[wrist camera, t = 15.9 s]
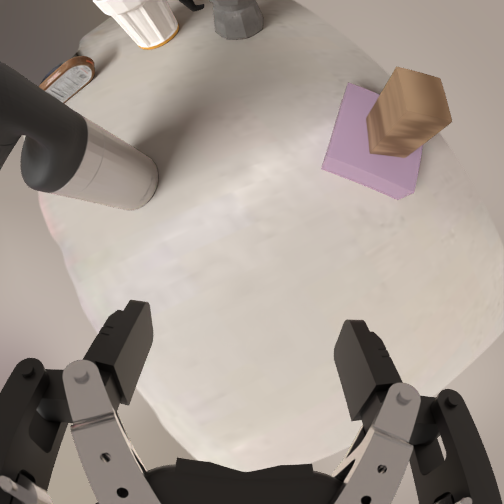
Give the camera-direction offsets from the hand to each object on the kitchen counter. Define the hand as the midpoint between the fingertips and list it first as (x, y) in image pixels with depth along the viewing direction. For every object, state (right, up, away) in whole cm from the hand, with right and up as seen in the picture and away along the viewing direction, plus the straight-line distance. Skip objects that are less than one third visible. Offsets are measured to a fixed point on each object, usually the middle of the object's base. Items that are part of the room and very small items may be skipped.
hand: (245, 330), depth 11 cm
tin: (-38, +38, +31) cm, 62 cm away
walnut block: (+17, +18, +19) cm, 31 cm away
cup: (-19, +47, +29) cm, 58 cm away
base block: (+17, +18, +25) cm, 35 cm away
